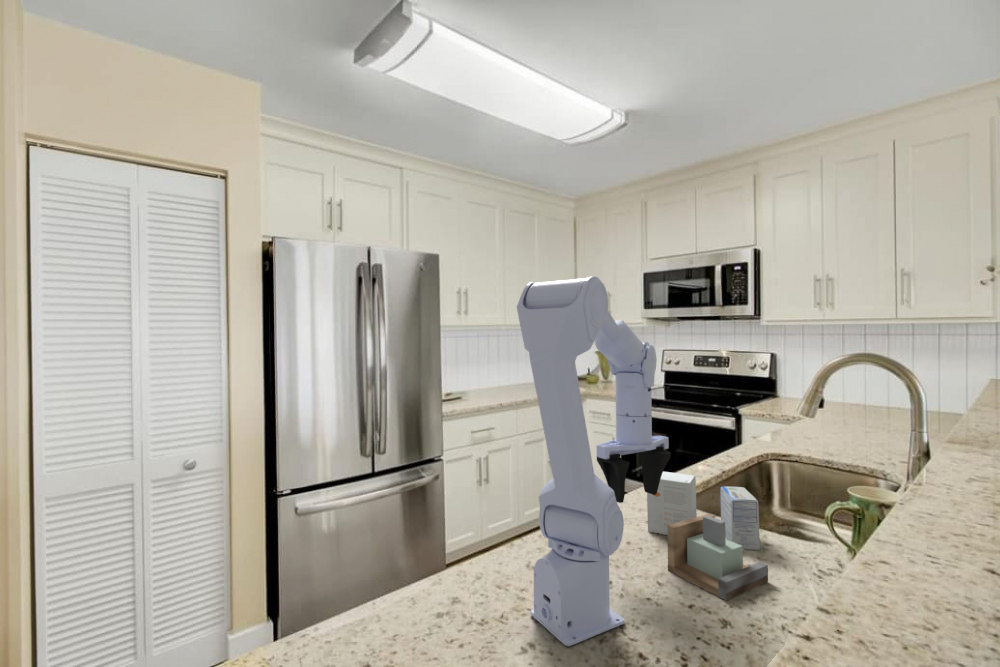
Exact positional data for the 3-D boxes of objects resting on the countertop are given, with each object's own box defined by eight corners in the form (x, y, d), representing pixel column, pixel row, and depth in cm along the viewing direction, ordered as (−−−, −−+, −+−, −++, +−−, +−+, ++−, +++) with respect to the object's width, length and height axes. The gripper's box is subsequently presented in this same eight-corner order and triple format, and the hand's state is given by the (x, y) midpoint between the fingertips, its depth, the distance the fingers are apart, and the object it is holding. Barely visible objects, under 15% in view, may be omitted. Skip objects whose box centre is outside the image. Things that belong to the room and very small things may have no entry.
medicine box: (760, 551, 80) (759, 500, 80) (732, 549, 81) (731, 499, 81) (745, 533, 88) (745, 486, 88) (720, 531, 88) (719, 485, 89)
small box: (697, 530, 89) (696, 475, 89) (691, 541, 84) (691, 482, 84) (654, 522, 93) (653, 469, 93) (646, 532, 88) (646, 476, 88)
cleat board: (726, 600, 65) (725, 549, 65) (667, 570, 73) (667, 525, 73) (768, 581, 70) (767, 534, 70) (708, 555, 78) (708, 513, 78)
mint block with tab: (722, 581, 68) (721, 529, 68) (687, 564, 73) (686, 516, 73) (742, 572, 70) (742, 522, 71) (707, 556, 76) (707, 510, 76)
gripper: (618, 421, 70) (619, 512, 70) (683, 413, 77) (684, 496, 77) (587, 415, 76) (588, 498, 76) (650, 408, 83) (650, 485, 83)
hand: (634, 496), depth 77 cm, fingers open, 7 cm apart
